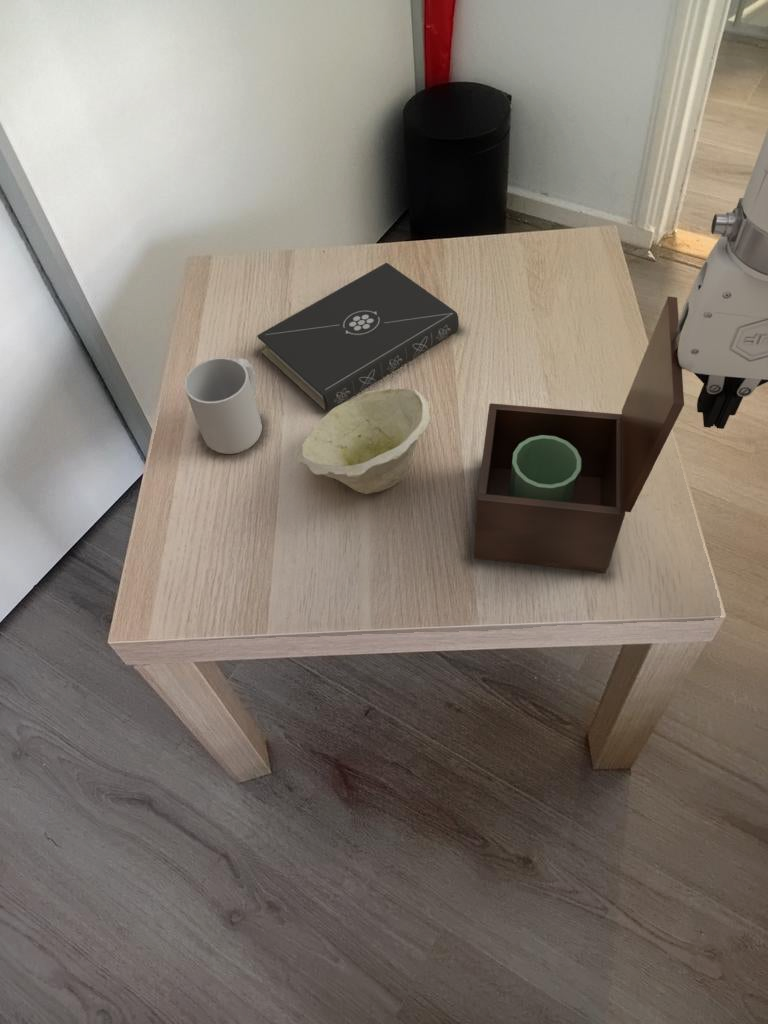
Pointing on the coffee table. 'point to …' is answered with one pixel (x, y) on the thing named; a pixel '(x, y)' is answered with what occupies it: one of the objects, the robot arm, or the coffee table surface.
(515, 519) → the chest
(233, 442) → the cup
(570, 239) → the coffee table surface
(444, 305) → the book
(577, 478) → the green cup
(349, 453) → the bowl
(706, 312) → the robot arm
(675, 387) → the lid
